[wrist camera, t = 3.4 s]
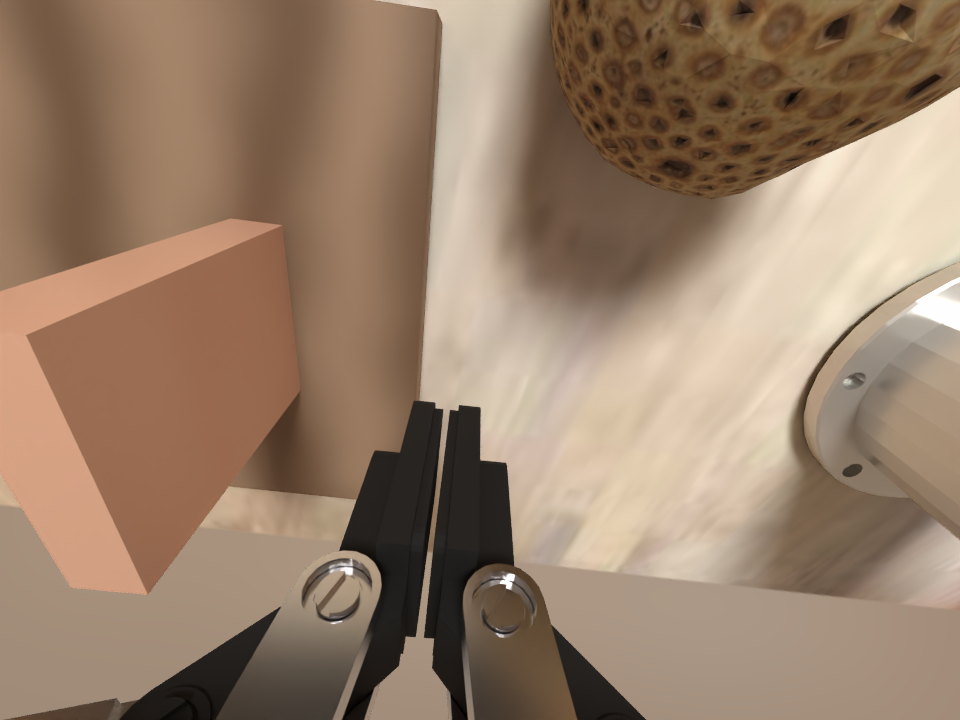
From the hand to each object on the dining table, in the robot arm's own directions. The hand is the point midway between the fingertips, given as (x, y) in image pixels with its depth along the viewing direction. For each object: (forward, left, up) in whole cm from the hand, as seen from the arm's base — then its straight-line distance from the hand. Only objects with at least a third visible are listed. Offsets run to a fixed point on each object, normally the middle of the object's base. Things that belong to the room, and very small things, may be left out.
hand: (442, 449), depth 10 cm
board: (+14, 0, -8) cm, 16 cm away
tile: (+8, 0, -7) cm, 10 cm away
